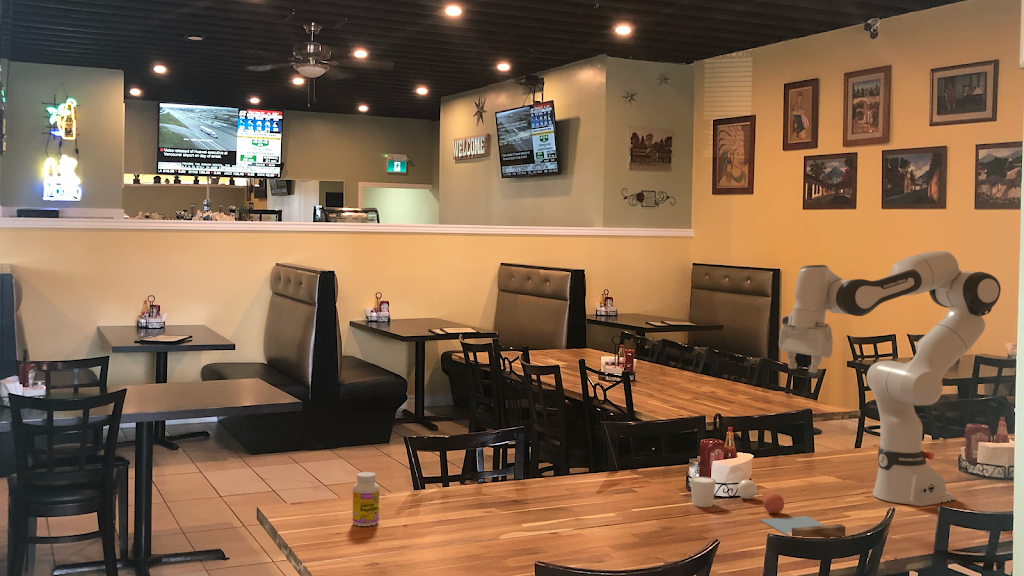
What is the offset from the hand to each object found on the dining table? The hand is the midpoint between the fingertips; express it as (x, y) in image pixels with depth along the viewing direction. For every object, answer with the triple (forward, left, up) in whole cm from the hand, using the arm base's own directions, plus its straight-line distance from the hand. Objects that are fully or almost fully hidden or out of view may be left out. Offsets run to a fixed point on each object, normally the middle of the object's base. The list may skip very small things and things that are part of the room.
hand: (802, 370), depth 255 cm
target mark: (+13, +20, -37) cm, 44 cm away
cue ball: (+13, -6, -35) cm, 38 cm away
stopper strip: (+13, +28, -37) cm, 49 cm away
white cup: (+28, -4, -38) cm, 47 cm away
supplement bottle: (+121, -8, -38) cm, 127 cm away
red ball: (+13, +8, -35) cm, 38 cm away
